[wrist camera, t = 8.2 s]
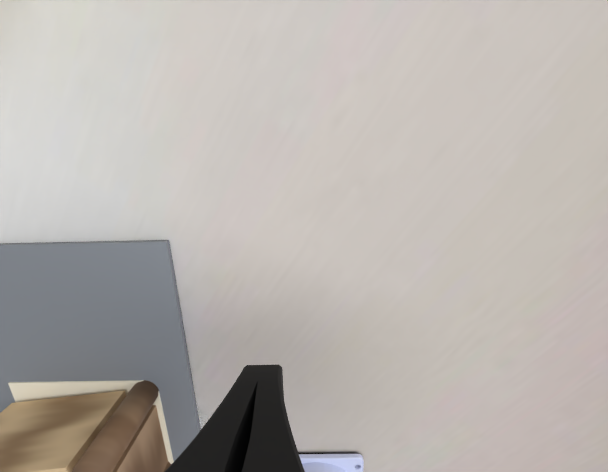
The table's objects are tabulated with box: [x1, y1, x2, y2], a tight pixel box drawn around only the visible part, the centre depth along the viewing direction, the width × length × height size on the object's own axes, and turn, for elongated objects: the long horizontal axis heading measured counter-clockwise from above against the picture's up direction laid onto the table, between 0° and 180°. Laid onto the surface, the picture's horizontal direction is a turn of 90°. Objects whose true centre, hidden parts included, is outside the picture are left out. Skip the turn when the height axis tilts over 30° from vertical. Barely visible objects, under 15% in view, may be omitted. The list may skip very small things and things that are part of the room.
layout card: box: [0, 240, 200, 464], centre depth 22 cm, size 21×16×1 cm
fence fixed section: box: [72, 380, 171, 472], centre depth 20 cm, size 10×2×6 cm, turn 1°
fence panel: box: [0, 391, 126, 472], centre depth 19 cm, size 9×1×6 cm, turn 98°
